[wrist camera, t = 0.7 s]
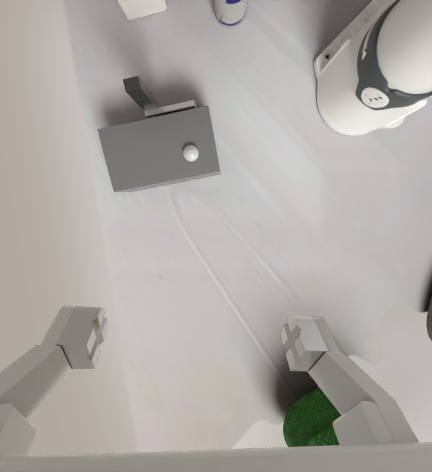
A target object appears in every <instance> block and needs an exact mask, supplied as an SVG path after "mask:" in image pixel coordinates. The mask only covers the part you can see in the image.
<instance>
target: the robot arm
mask: <svg viewBox="0 0 432 472" xmlns="http://www.w3.org/2000/svg"><path fill="white" fill-rule="evenodd" d="M325 56H328V57H329V59H326V57H325ZM314 71H315V74H316V77H317V104H318V108H319V111H320V114H321V116H322V118H323V119H324V121H325V122H326V123H327V124H328V125H329V126H330V127H331V128H332V129H334V130H335V131H337V132H339V133H342V134H346V135H362V134H366V133H369V132H371V131H373V130H376V129H379V128H394V127H397V126H398V125H400V124H401V123H402V122H403V120H404V118H405V116H406V115H408V114H410V113H412V112H413V111H415V110H417V109H419V108H421V107H422V106H424V105H425V104H426V102H427V101H426V100H427V99H428V98H430V97H432V0H372V1H371V2H370V3H369V4H368V5H367V6H366V7H365V8H364V9H363V10H362V11H361V13H360V14H359V15H358V16H357V17H356V18H355V19H354V20H353V21H352V22H351V23H350V24H349V25H348V26H347V27H346V28H345V29H344V30H343V31H342V32H341V33H340V34H339V35H338V36H337V37H336V38H335V39H334V40H333V41H332V42H331V43H330V44H329V45H328V47H327V48H326V49H325V50H324V51H323V52H322V53H321V54H320V55H319V56H318V57H317V58H316V59H315V61H314ZM104 315H105V309H104V308H99V307H81V306H63V307H62V308H61V309H60V310H59V312H58V314H57V316H56V318H55V320H54V321H53V323H52V325H51V327H50V328H49V330H48V332H47V334H46V336H45V337H44V339H43V341H42V343H41V345H36V346H34V347H33V348H32V349H30V350H29V351H28V352H26V353H25V354H24V355H22V356H21V357H20V358H18V359H17V360H16V361H14V362H13V363H12V364H11V365H9V366H8V367H7V368H5V369H4V370H3V371H1V372H0V472H432V442H420V443H419V442H418V440H417V438H416V436H415V434H414V433H413V431H412V429H411V427H410V426H409V424H408V422H407V420H406V419H405V417H404V415H403V413H402V412H401V410H400V408H399V406H398V404H397V403H396V401H395V400H394V399H393V398H392V397H391V396H390V395H389V394H388V393H387V392H386V391H385V390H383V389H382V388H381V387H380V386H379V385H378V384H377V383H376V382H375V381H374V380H373V379H372V378H370V377H369V376H368V375H367V374H366V373H365V372H364V371H363V370H362V369H361V368H360V367H359V366H358V365H356V364H355V363H354V362H353V361H352V360H351V359H350V358H349V357H348V356H347V355H346V354H345V353H343V352H340V351H339V349H338V347H337V345H336V342H335V340H334V338H333V336H332V334H331V332H330V330H329V328H328V326H327V324H326V322H325V320H324V319H323V318H322V317H311V316H289V317H288V319H287V322H288V323H287V324H285V325H284V326H283V328H282V331H281V339H282V343H283V346H284V347H285V348H286V349H287V350H288V351H287V354H286V358H287V361H288V364H289V368H290V371H308V373H309V374H310V376H311V377H312V378H313V380H314V381H315V382H316V383H317V385H318V386H319V387H320V388H321V390H322V391H323V392H324V394H325V395H326V396H327V397H328V399H329V400H330V401H331V403H332V404H333V405H334V406H335V408H336V409H337V410H338V411H339V413H340V414H341V415H342V416H341V417H339V418H338V419H336V420H335V421H334V422H333V428H334V430H335V433H336V436H337V439H338V442H339V445H334V446H306V447H277V448H248V449H219V450H191V451H162V452H134V453H106V454H77V455H47V456H27V453H28V451H29V448H30V446H31V444H32V441H33V439H34V437H35V434H36V428H35V427H34V426H33V425H32V424H31V423H30V422H29V421H28V420H27V419H26V418H27V417H28V416H29V415H30V414H31V413H32V412H33V411H34V410H35V409H36V408H37V407H38V406H39V405H40V403H41V402H42V401H43V400H44V399H45V398H46V397H47V396H48V395H49V394H50V393H51V392H52V391H53V390H54V389H55V388H56V387H57V386H58V384H59V383H60V382H61V381H62V380H63V379H64V378H65V377H66V376H67V375H68V374H69V373H70V371H72V369H93V368H95V366H96V363H97V360H98V357H99V354H100V349H99V345H100V344H101V343H102V342H103V341H104V339H105V336H106V332H107V319H106V318H105V317H104Z"/></svg>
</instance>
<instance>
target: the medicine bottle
mask: <svg viewBox="0 0 432 472" xmlns="http://www.w3.org/2000/svg"><path fill="white" fill-rule="evenodd" d="M117 1H118V3H119V5H120V7H121V8H122V10H123V12H124V14H125V16H126V17H127V19H128V20H134V19H137V18H141V17H144V16H148V15H151V14H155V13H158V12H162V11H165V10H167V5H166V0H117Z"/></svg>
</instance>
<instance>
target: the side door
mask: <svg viewBox="0 0 432 472" xmlns="http://www.w3.org/2000/svg"><path fill="white" fill-rule="evenodd" d="M123 82H124V86H125V90H126V92H127V93H128V94H129V95H130V96H131V97H132V98H133V99H134V100H135V102H136V103H137V104H138V105H139V106H140V107H141V108H142V109H143V110H144V111H145V116H146V117H147V118H153V117H158V116H162V115H167V114H171V113H176V112H181V111H185V110H190V109H195V108H196V104H195V101H194V100H191V101H186V102H182V103H177V104H173V105H168V106H164V107H159V106H158V102H157V101H156V100H155V98H154V97H153V96H152V94H151V93H150V91H149V90H148V89H147V87H146V86H145V85H144V83H143V82H142V81H141V79H140V78H139V77H138V76H136V77H132V78H128V79H123Z"/></svg>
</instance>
